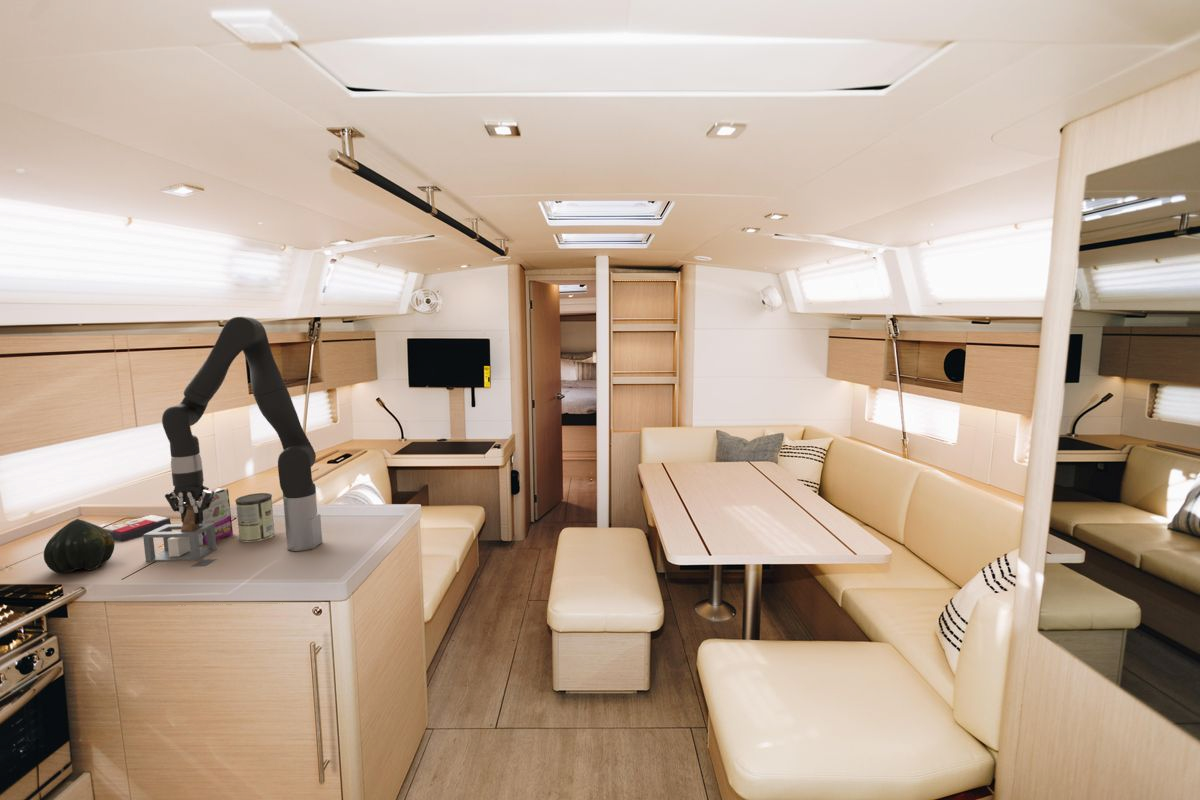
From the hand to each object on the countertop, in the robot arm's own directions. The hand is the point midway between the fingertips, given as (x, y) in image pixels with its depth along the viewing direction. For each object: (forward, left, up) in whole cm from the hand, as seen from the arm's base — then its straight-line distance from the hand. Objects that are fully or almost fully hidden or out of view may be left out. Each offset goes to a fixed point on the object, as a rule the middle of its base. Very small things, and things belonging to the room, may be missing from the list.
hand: (192, 523), depth 166 cm
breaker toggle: (+4, +1, -9) cm, 10 cm away
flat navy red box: (+35, -23, -11) cm, 43 cm away
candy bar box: (+4, -13, -11) cm, 17 cm away
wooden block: (0, +2, -2) cm, 3 cm away
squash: (+28, +8, -11) cm, 31 cm away
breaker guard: (+4, +1, -10) cm, 11 cm away
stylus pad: (-7, +7, -10) cm, 14 cm away
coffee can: (-10, -14, -11) cm, 21 cm away
